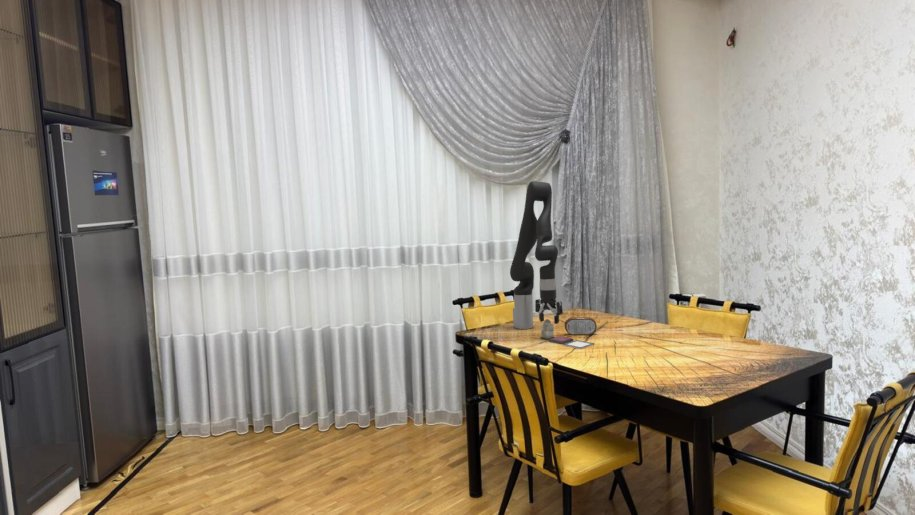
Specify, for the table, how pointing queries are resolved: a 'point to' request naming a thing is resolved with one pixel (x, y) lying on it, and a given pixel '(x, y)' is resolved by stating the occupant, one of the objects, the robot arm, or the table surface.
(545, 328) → the stamp
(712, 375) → the table surface
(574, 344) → the marked box
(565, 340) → the ink pad
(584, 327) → the tin
